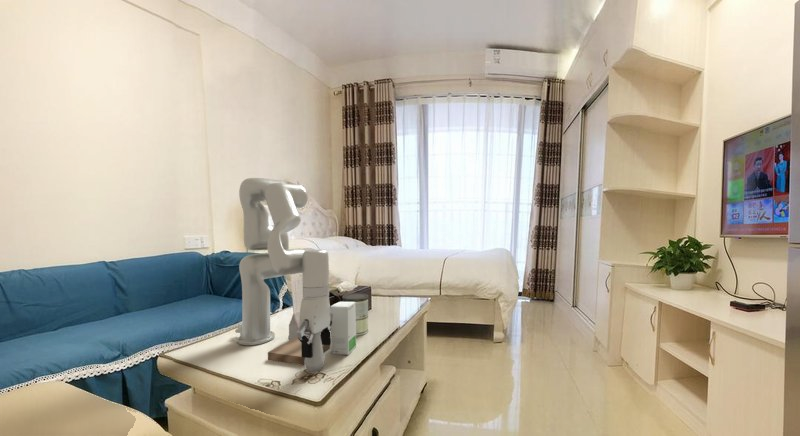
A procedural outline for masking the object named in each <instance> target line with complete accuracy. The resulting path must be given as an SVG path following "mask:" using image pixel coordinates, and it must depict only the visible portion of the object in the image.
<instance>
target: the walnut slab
mask: <svg viewBox="0 0 800 436" xmlns="http://www.w3.org/2000/svg"><path fill="white" fill-rule="evenodd" d="M322 347H323V353H324V354H325V353H326V352H327V351H329V350H331V344H330V345H322ZM267 361H271V362H277V363H284V364H292V365H298V366H305V365H304V361H305V357H302V347H301V343H300V340H299V339H298V337H295V338H293V339H291V340H289V339H288V341H285V342H283V343H282V344H280V345H278V346H277V347H275V348H273V349H271V350H270V351H267ZM305 367H306V366H305Z"/></svg>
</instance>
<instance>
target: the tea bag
mask: <svg viewBox="0 0 800 436" xmlns="http://www.w3.org/2000/svg"><path fill="white" fill-rule="evenodd" d="M299 319H300V311H297V312H295V313H292V317H291V319H290V321H289V324H288V341H289V340H291V339H293V338H295V337H298V335H297V330H298V329H299ZM307 336H308V337H309V335H306V337H307ZM308 337H307V338H308Z"/></svg>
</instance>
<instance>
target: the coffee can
mask: <svg viewBox="0 0 800 436" xmlns="http://www.w3.org/2000/svg"><path fill="white" fill-rule="evenodd" d="M341 298H342V302H355V308H356V337H357V336H363V335H365V334H367V333H368V332H369V295H368V294H367V293H362V292H361V293H359V292H358V293H357V292H354V293H353V292H352V293H347V294H344V295H342V297H341Z"/></svg>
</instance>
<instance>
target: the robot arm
mask: <svg viewBox="0 0 800 436" xmlns="http://www.w3.org/2000/svg"><path fill="white" fill-rule="evenodd" d="M238 195H239V201H240V205H241V208H242V212H243V243H244V247H245V248H246V249H247V250H249V251H266V250H267V253H256V254H248V255H246V256H244V257H243V258H242V259H241V260H240V262H239V265H238V266H239V267H238V268H239V269H238V270H239V274H240V280H241V292H242V293H241V296H242V297H241V300H242V304H241V306H242V307H241V310H242V311H241V313H242V314H241V316H242V318H241V319H242V321H241V322H242V325H238V327H237V328H235V330H234V331H235V333H236V334H239V336H238V338H237V344H239V345H243V346H255V345H261V344H266V343H268V342H270V341H272V340H274V338H275V335H276V334H275V332H273V331H271V290H270V287H269V285H267V283H266V282H265V281H264V280H267V279H271V278H278V277H279V278H280V277H283V276H287V275H288V276H290V275H294V274H295V275H296V274H302V298H301V302H300V308H299V312H300V319H299V329H298V330H297V335H298V339H299V340H300V343H301V347H302V357H305V358H312V357H313V348H312V343H311V340H312V338H313V335H314V334H316V333H318V332H320V331H321V330H322V332H321V333H320V336H321V341H322V345H330V346H331V325H332V318H333V314H331V313H330V306H331V305H330V304H331V303H330V277H329V275H330V270H329V267H330V265H329V260H330V259H329V258H330V257H329V251H327V250H325V249H315V248H312V247H311V248H310V247H307V248H290V247H289V246H290V245H289V243H290V241H289V233H288V232H290V231H292V230H294V229H296V228H297V227H298V226H299V225H300V224H301V221H302V219H301V216H300V213H299V211H298V209H300V208H302V209H303V208H304V207H305V206H307V204H308V201H309V199H308V198H309V197H308V192H307V190H306V189H305V187H304V186H303V185H301V184H297V183H295V182H290V181H286V180H281V179H280V180H279V179H273V178H272V179H271V178H264V177H263V178H262V177H248V178H245V179H244V180H243V181H241V183H240V186H239V192H238ZM262 202H265V203H266V205H267V208H268V210H267V208H266V207H265V206H264V204H263V203H262ZM268 211H269V212H268ZM269 213H270V216H271V220H272V222H273V225H272V224H269ZM289 248H290V249H289ZM309 331H311V332H309ZM306 335H309V336H308V337H306Z"/></svg>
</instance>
